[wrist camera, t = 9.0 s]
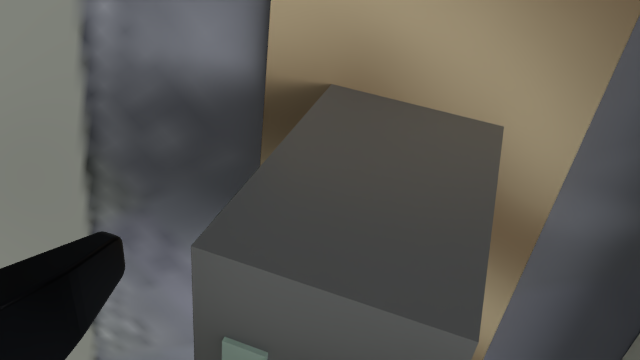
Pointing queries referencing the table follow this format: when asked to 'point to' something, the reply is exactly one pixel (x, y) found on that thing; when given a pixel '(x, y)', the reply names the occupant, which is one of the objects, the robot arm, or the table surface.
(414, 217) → the block
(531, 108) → the cork pad
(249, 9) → the table surface
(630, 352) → the power strip
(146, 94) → the table surface
